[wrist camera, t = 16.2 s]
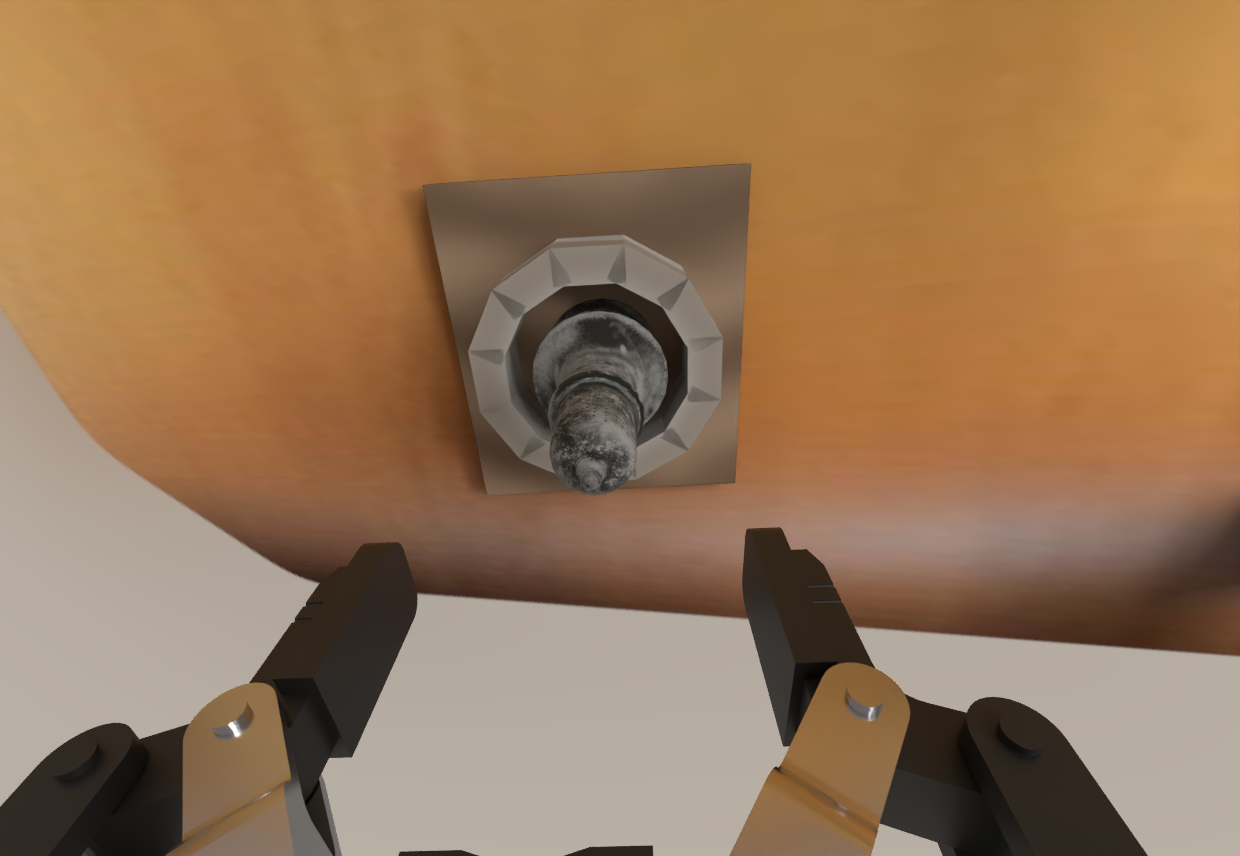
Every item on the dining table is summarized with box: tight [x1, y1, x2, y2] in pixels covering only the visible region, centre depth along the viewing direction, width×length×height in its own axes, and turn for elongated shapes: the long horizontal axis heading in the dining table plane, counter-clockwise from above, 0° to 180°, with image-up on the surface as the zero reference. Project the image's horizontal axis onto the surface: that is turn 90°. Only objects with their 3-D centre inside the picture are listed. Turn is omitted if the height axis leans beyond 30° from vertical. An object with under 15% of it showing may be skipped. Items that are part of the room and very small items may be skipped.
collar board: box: [423, 164, 751, 495], centre depth 25 cm, size 16×14×4 cm
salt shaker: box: [532, 298, 668, 495], centre depth 20 cm, size 6×6×12 cm
